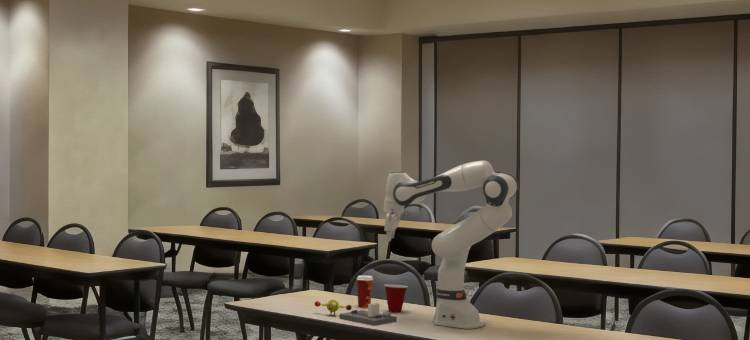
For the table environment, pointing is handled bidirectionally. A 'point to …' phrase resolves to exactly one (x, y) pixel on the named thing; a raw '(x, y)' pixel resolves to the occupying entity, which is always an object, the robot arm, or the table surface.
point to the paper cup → (364, 290)
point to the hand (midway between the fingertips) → (390, 239)
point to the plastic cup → (395, 297)
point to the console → (368, 317)
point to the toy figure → (332, 306)
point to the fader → (373, 309)
